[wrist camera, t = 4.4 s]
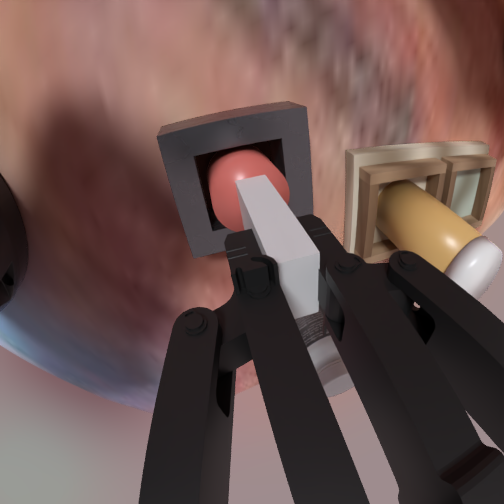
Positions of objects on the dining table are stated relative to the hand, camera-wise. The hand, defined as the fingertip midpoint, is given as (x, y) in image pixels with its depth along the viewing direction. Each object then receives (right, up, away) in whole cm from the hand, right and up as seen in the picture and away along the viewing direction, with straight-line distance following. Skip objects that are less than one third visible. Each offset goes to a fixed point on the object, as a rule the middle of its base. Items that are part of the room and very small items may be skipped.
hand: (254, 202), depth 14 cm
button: (-1, +2, +3) cm, 4 cm away
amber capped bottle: (+12, +1, +7) cm, 14 cm away
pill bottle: (+5, -7, +13) cm, 15 cm away
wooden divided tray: (+16, +3, +8) cm, 18 cm away
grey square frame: (-1, +3, +4) cm, 5 cm away
